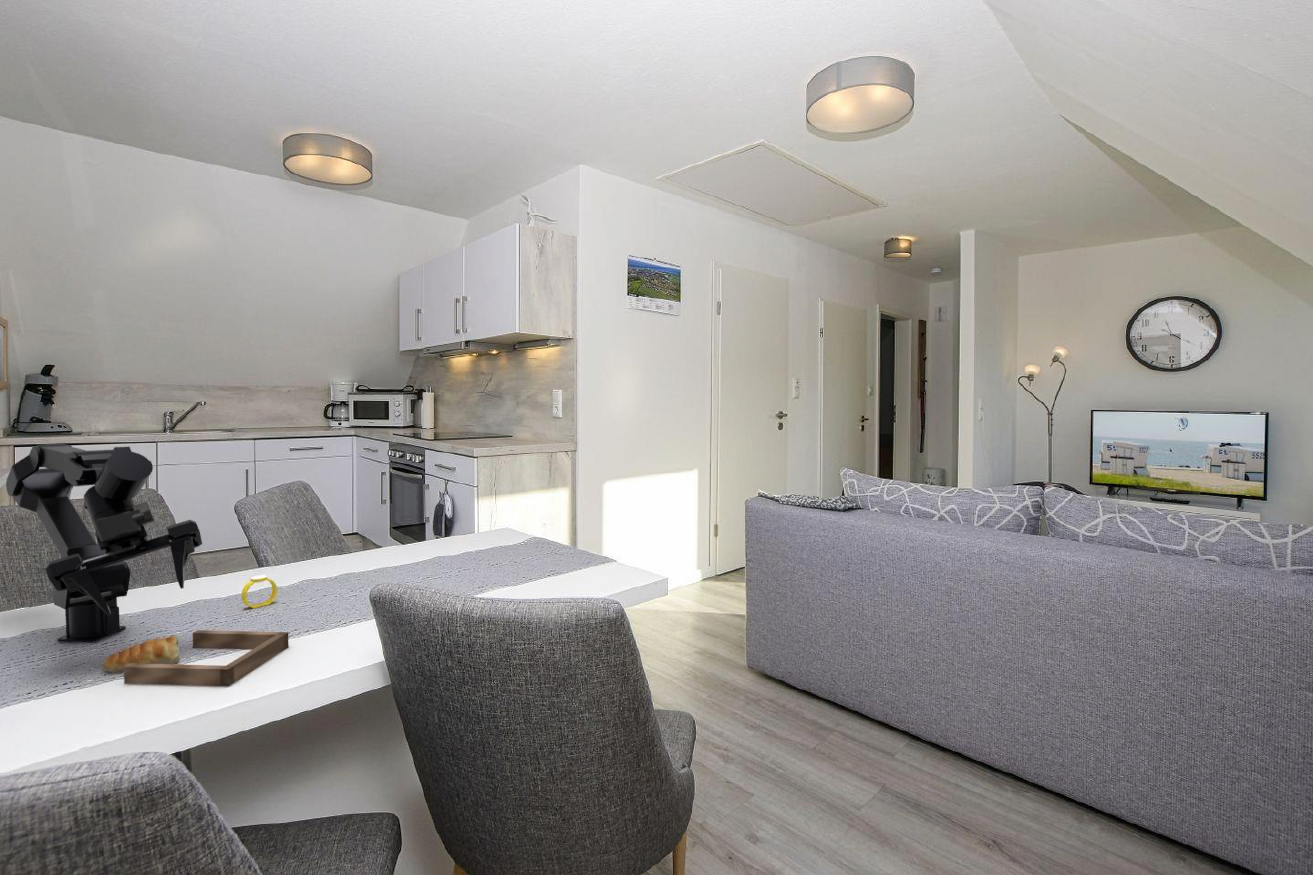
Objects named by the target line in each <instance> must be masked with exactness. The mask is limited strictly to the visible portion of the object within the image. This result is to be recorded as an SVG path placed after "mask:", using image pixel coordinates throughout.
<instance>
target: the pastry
mask: <svg viewBox="0 0 1313 875" xmlns="http://www.w3.org/2000/svg"><path fill="white" fill-rule="evenodd" d="M178 639H179V638H178V635H171V636H169V637H163V638H160V637H159V638H157V637H156V638H153V639H147V640H145V641H144V642H142V643H136V644H134V645H131V646H129V647H126V648H123V649H122V650H120V651H117V652H114V653H113V654H111V655H109V656H108V657H107V658H106V659H105V660H104V661H102V669H103V670H104V671H106V672H108V673H112V674H119V673H124V666H126V665H128V664H131V663H137V664H178V662H180V658H181V657H180V653H181V647H180V646H179V640H178Z"/></svg>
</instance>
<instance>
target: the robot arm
mask: <svg viewBox="0 0 1313 875" xmlns="http://www.w3.org/2000/svg"><path fill="white" fill-rule="evenodd" d="M153 470H154V467H153V463H152V461H151V460H149V459H148V458H147V457H146V456H144V455H142V454H141V453H138V452H134V451H132V448H131V447H130V446H115V447H113V449H97V450H86V449H82V448H78V447H74V446H72V445H70V444H66V443H55V444H53V443H52V444H38V445H37V446H36V445H35V446H32V447H31V449H30V451H29V453H28V455H26V456H25V457H24V458H22V459H20V460H19V461H17V462H15V463H14V464H13V465H11V467H10V469H9V473H8V475H7V477H6V482H5V486H6V487H5V488H6V492H7V494H8V495H7V496H9V497H12V499H13V500H14V501H15V503H16V504H17V505H18V507H20V508H23V509H25V510H27V511H31V512H33V513H36V514H37V516H38V518H39V519H40V520H41V522H42V524H43V527H44V528H45V530H46V532H47V533H48V535H49V537H50V539H51V541H52V542H53V544H54V547H56V550H57V551H58V552H59V554H60V556H61V558H58V559H54V560H51V561H48V563H47V564H46V566H45V572H46V575H47V577H48V580H49V581H50V583H51V584H52V586H53V589H52V592H51V593H52V595H51V596H52V601H53V605H55V606H56V607H59V608H61V609H64V610H65V615H64V616H65V632H66V633H65V635H62V636H59V637H58V638H57V640H56V641H57V642H61V643H62V642H63V643H64V642H65V643H66V642H71V643H73V642H74V643H96V642H98V641H100V640H103V639H105V638H108V637H110V636H112V635H115V634H117V633H119V632H122V631H124V630H126V628H127V626H126V625H120V624H121V623H120V607H119V606H118V598H120V597H122V598H123V597H126V596H128V595H127V594H128V591H129V586H130V578H131V572H132V570H131V569H130V567H129V564H128V563H127V562H126V561H128V560H130V559H134V558H136V557H137V558H138V557H141V556H143V555H146V554H147V555H148V554H150V553H153V552H155V551H159V550H163V549H166V548H169V547H170V551H171V556H172V561H173V565H174V571H175V576H176V579H177V584H178V586H179V588H180V590H182V589H184V587H185V585H184V584H185V573H186V572H185V571H186V566H187V562H188V557H189V555H191V554H193V553H195V551H196V549H195V548H199V547H201V545H203V541H202V534H201V531H200V528H199V526H198V524H197V522H196V521H194V520H193V519H188V520H185V521H184V520H183V521H182V522H178V523H174V524H171V525H167V526H165V529H166V532H167V534H165V535H162V536H159V537H155V538H151V539H149V537H148V534H147V530H146V529H145V525H148V524H151V523H154V522H155V520H154V517H153V514H152V512H151V509H150V506H149V504H148V502H143V503H139V504H136V503H135V501H134V499H133V498H135V497H137V496H138V495H139V494H140V493H141V491H142V489H143V488H144V486H145V484H146V482H147V480H148V479H149V477H150V475H151V474H152V472H153ZM84 486H86V487H87V486H90V487H89V488H88V489H87V490H86V491H85V493H84V495H83V500H84V501H83V509H85V510H87V511H88V514H89V516H90V520H91V523H92V525H93V528H94V531H95V533H94V535H95V538H96V540H95V539H94V537H93V535H92V533H91V532H90V529H88V527H87V525H86V523H85V522H84V520H83V518H82V517H81V515H80V514H79V512H78V510H77V509H76V507H75V506H74V504H73V503H72V500H71V495H72V494H71V493H72V490H73V488H74V487H75V488H76V487H84Z"/></svg>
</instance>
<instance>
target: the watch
mask: <svg viewBox="0 0 1313 875" xmlns="http://www.w3.org/2000/svg"><path fill="white" fill-rule="evenodd" d="M266 581H268V582H269V583H270V585H271V588H272V589H271V590H272V591H271V593H270V596H269V598H268V599H267V600H266V601H265V602H262V603H257V604H250V603H249V601H248V599H247V597H248V596H247V593H248V591H249V589H251V586H253V585H254V584H255V583H262V582H263V583H264V582H266ZM277 594H278V585H277V583H276V582H275V580H272V579H270V578H268V576H267V575H265V574H257V575H254V576H252V577H250V580H249V581H248V582H247V583H246V584H245V585H244V586H243V589H242V591H241V600H242V602H243V604H244V605H245V606H247V607H249V608H251V609H257V608H261V607H265V606H269V605H271V604H272V603H273V601H274V600H275V599H276V597H277Z"/></svg>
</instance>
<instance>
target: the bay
mask: <svg viewBox="0 0 1313 875" xmlns="http://www.w3.org/2000/svg"><path fill="white" fill-rule="evenodd" d="M192 648H193V649H197V648H198V649H229V650H230V649H231V650H232V649H233V650H236V649H237V650H249V651H248V652H246V653H244V654H243V655H241V656H239V657H237V658H236V659H234V660H232V661H231V662H229V663H228V664H226V665H218V664H217V665H214V664H210V665H209V664H207V665H206V664H178V663H176V664H137V663H131V664H128V665H126V666H124V672H123V680H124V681H123V683H124V685H157V686H161V685H162V686H198V687H199V686H200V687H202V686H203V687H230V686H232V685H233V684H234V683H236V682H237V681H239V680H240V679H242V678H244V677H245V676H246V675H248V674H249V673H250V674H251V672H252V671H254V670H256V669H258V668H259V667H261V666H262V665H264V664H265V663H266V662H268V661H270V660H271V659H273V658H274V657H276V656H277V655H278V654H280V653H282V652H283V651H285V650H286V649H288V648H289V632H288V631H287V632H284V631H283V632H282V631H251V630H250V631H246V630H245V631H243V630H204V629H201V630H199V629H198V630H196V631H194V632H192Z"/></svg>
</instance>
